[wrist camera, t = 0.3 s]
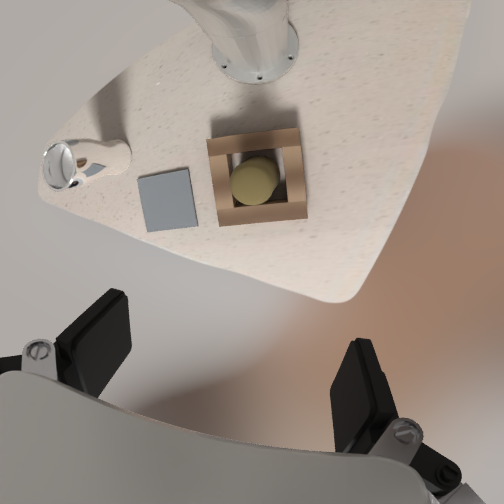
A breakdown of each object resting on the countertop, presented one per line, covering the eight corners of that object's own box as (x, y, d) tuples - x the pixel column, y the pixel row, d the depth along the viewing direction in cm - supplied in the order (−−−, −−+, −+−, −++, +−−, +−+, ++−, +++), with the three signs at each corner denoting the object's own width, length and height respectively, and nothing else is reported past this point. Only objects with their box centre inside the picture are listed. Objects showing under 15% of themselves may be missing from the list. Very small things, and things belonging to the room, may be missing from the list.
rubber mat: (138, 178, 44) (137, 179, 43) (188, 169, 42) (187, 169, 42) (148, 231, 47) (147, 232, 46) (198, 225, 45) (197, 226, 45)
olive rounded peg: (231, 182, 42) (213, 193, 32) (252, 147, 40) (241, 147, 30) (265, 203, 43) (258, 222, 33) (288, 170, 41) (288, 177, 31)
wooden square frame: (211, 140, 41) (206, 139, 38) (297, 129, 39) (298, 127, 36) (223, 221, 45) (219, 226, 42) (306, 213, 43) (307, 218, 40)
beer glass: (137, 140, 42) (79, 142, 28) (129, 181, 44) (72, 198, 30) (104, 134, 42) (44, 136, 28) (98, 173, 44) (38, 187, 30)
